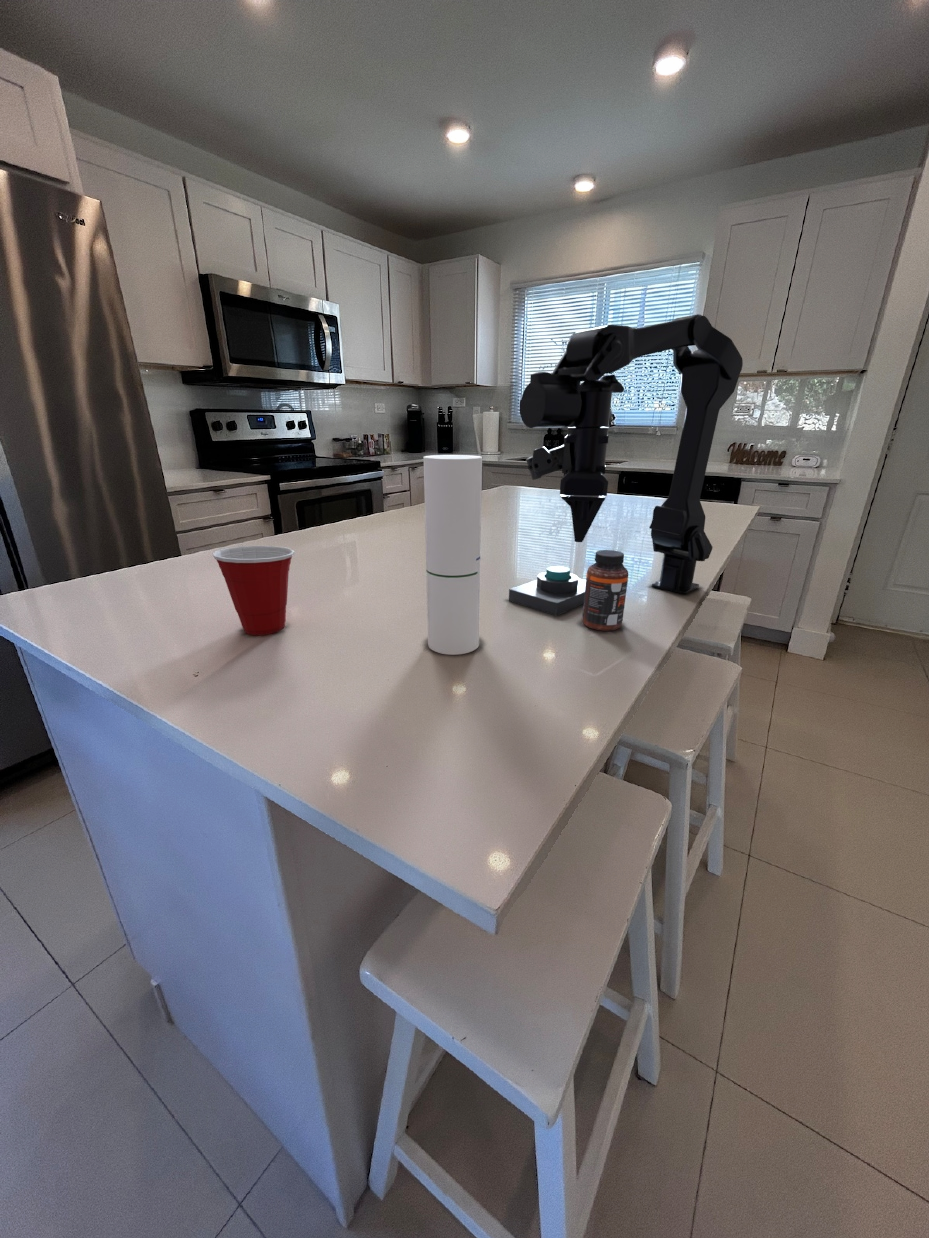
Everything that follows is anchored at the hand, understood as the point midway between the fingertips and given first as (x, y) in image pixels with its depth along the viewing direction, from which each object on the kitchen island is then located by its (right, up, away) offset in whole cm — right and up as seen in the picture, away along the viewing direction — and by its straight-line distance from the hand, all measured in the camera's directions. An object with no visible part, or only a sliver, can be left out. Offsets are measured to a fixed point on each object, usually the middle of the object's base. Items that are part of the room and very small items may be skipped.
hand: (578, 535), depth 79 cm
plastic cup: (-47, -14, -2) cm, 50 cm away
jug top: (-2, -9, +10) cm, 14 cm away
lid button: (-2, -6, +9) cm, 11 cm away
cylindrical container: (-19, -17, -7) cm, 26 cm away
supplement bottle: (+3, -14, -1) cm, 14 cm away
